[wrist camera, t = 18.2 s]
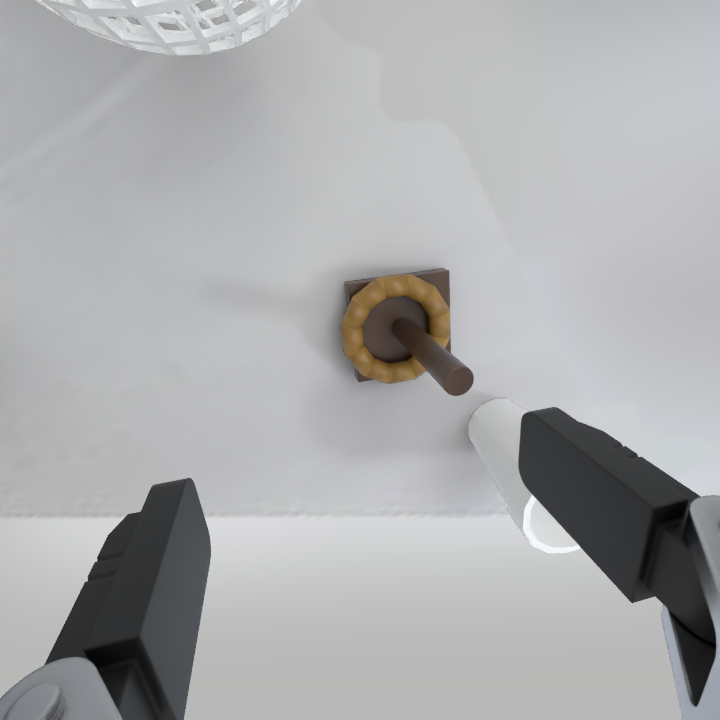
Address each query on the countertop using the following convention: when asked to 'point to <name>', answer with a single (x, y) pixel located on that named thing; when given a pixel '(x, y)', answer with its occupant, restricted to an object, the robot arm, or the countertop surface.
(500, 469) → the foam cup
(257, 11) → the heart
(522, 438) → the robot arm
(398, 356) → the post
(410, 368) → the ring
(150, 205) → the countertop surface
